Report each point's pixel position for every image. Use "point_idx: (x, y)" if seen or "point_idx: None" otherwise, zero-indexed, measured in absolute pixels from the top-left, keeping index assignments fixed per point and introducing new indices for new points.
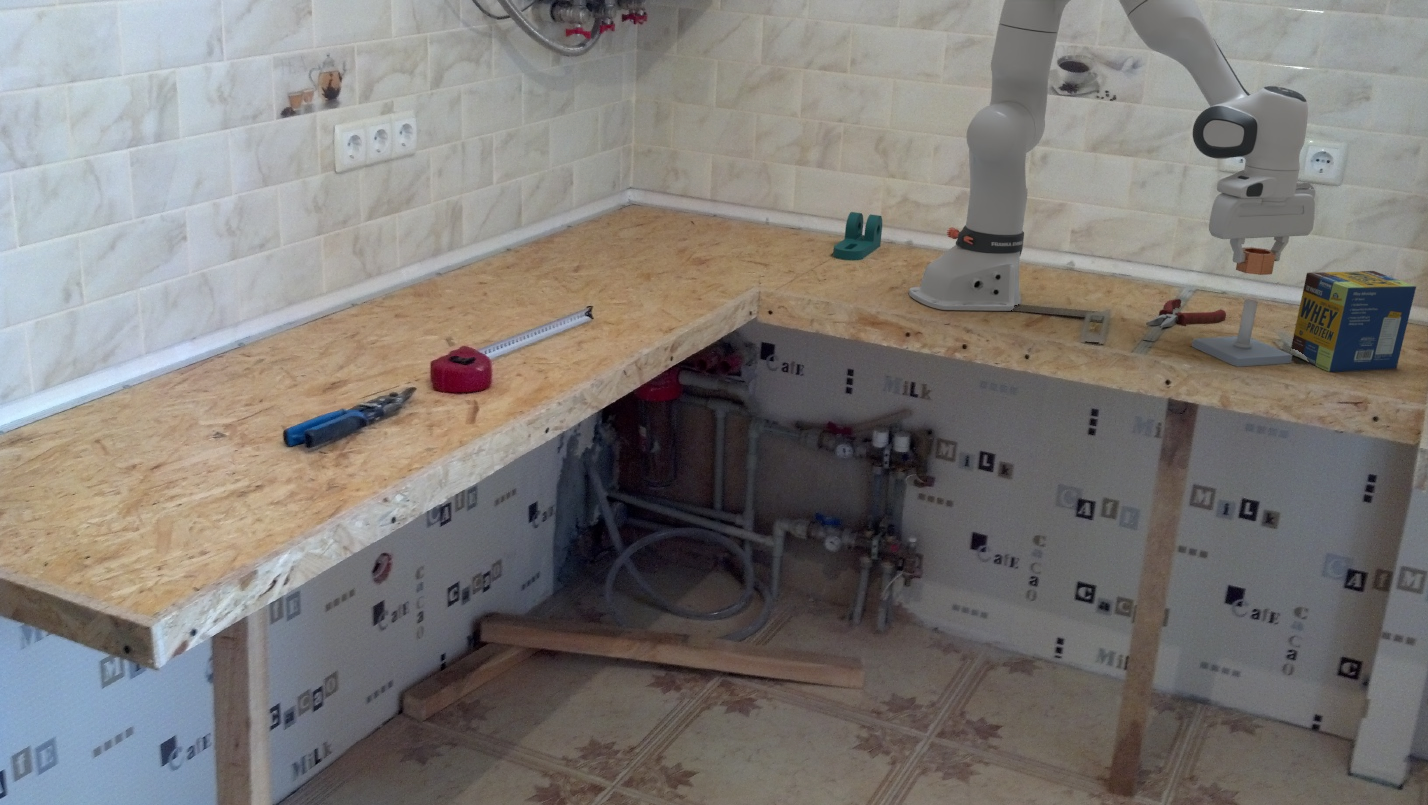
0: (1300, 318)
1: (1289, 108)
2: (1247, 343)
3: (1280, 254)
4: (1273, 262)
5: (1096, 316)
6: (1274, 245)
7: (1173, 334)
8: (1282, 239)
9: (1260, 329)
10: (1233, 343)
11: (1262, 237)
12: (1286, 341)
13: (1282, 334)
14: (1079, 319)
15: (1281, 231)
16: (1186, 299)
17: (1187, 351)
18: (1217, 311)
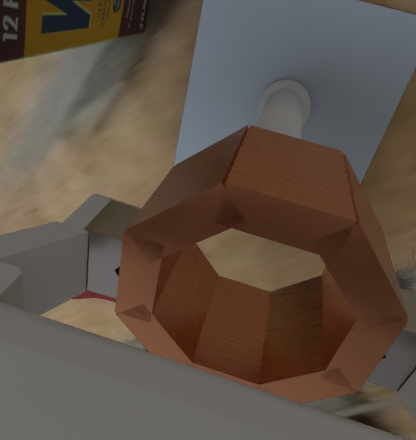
0: (91, 25)
1: None
2: (289, 90)
3: (72, 213)
4: (240, 155)
5: (318, 407)
6: (50, 302)
7: (283, 279)
8: (4, 291)
9: (49, 204)
10: None
11: (305, 406)
12: (57, 118)
13: (25, 158)
14: (374, 417)
15: (9, 366)
16: None
17: (399, 190)
18: (90, 295)
